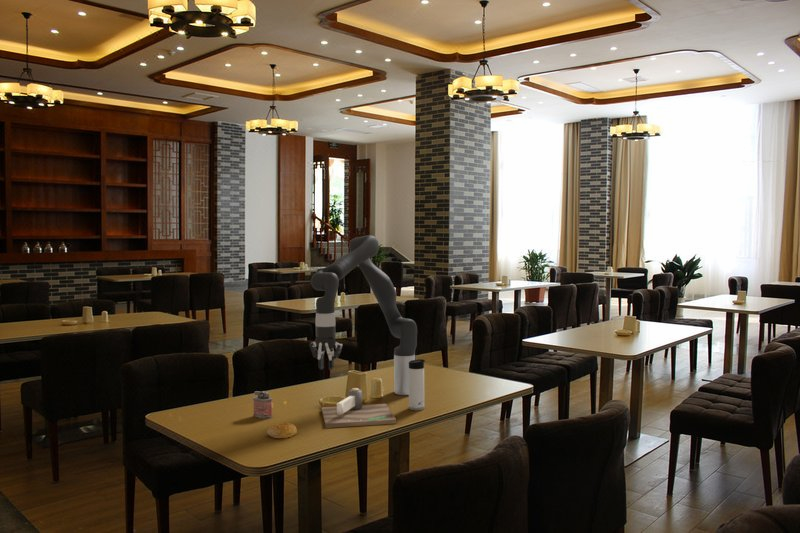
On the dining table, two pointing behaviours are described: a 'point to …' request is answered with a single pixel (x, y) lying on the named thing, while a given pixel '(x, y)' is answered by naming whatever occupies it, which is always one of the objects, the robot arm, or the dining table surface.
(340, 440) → the dining table surface
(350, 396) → the mallet
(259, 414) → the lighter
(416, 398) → the travel mug
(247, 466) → the dining table surface
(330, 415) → the wooden cutting board
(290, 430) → the golden round bun
